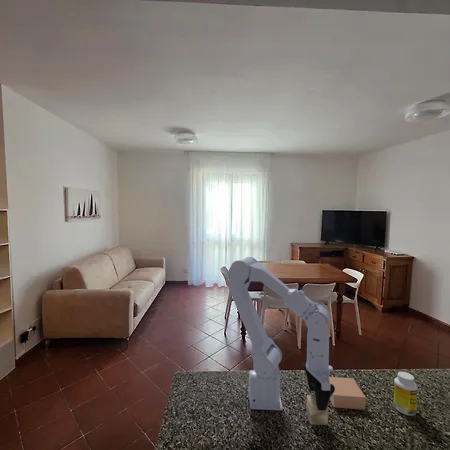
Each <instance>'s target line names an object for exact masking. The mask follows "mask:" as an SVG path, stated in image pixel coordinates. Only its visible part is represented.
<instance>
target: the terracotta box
mask: <svg viewBox="0 0 450 450" xmlns="http://www.w3.org/2000/svg"><path fill="white" fill-rule="evenodd" d="M329 381H330V384H333V386H334V387H335V392H334V393H333V394H332V395H331V397H330V399H329V401H330V402H331V405H332V407H333V408H337V409H339V408H340V409H351V410H352V409H353V410H363V411H364V410H366V401H367V400H366V399H367V398H366V396H365V394H364V393H363V391H362V390H361V388H360V387H359V385H358V384H357V381H355V379H354V378H353V377H352V378H351V377H339V376H338V377H337V376H329Z"/></svg>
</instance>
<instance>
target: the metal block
mask: <svg viewBox="0 0 450 450" xmlns="http://www.w3.org/2000/svg"><path fill="white" fill-rule="evenodd" d="M305 407H306V411H305V412H306V414H307V415H306V416H307V418H308V420H309V423H310V425H314V426H315V425H316V426H317V425H319V426H328V424H329V422H328V421H329V418H328V417H329V406H328V405H327V409H326V411H324V410H318V408H317V405H316V397H315V394H314V395H313V394H309V395H308V394H307V395H306V406H305Z"/></svg>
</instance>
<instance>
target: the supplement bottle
mask: <svg viewBox="0 0 450 450" xmlns="http://www.w3.org/2000/svg"><path fill="white" fill-rule="evenodd" d="M393 386H394V387H393V407H394V408H395V409H396V411H398V412H400V413H401V414H403V415H405V416H411V417H413V416H416V414H417V413H418V385H417V384H416V382H415V377H414V375H412V374H410V373H409V372H406V371H398V372H397V377H395V378H394V381H393Z"/></svg>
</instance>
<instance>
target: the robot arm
mask: <svg viewBox="0 0 450 450" xmlns="http://www.w3.org/2000/svg"><path fill="white" fill-rule="evenodd" d="M227 274H228V276H229V287H228V289H229V292H230V296H231V297H232V300H233V302H234V304H235V307H236V309H237V311H238V313H239V317H240V319H241V322H242V324H243V326H244V328H245V331H246V333H247V336H248V337H249V340H250V343H251V352H250V355H251V358H252V363H253V364H252V366H253V369H250V370H249V373H248V374H249V376H248V380H249V381H248V389H247V393H248V394H247V396H248V397H249V409H250V410H263V411H264V410H265V411H266V410H268V411H283V410H284V408H283V404H282V399H281V394H280V392H281V391H280V390H281V389H280V388H281V381H280V380H281V370H280V366H279V363H281V361H282V359H283V353H282V351H281V349H280V348H279V347H278V346H277V345H276V343H275V342H274V340H273V338H271V337H269V336H268V334H267V332H266V330H265V327H264V324H263V322H262V320H261V318H260V315H259V313H258V311H257V309H256V306H255V303H254V302H253V300H252V297H251V295H250V292H249V290H248V288H249V286H250V284H251V282H260V283H262V284H264V285H265V286H266V287H268V288H269V289H270V290H272V291H273V292H274V293H276V294H277V295H278V296H280V297H281V298H282V300H283V304H284V305H285V306H286V307H288V309H290V310H291V311H292V312H293V313H294V314H296V315H297V316H298V317H299V318H300V319H302V320H303V321H304V322H305V325H306V327H307V335H306V337H307V338H306V362H302V367H303V368H304V371H305V374H306V379H307V384H308V385H307V386H308V388H309V391H310V392H314V395H315V397H316V405H317V408H318V410H324V411H326V409H327V406H328V404H329V401H330V397H331V395H332V394H333V393H334V392H335V387H334V386H333V384H330V381H329V377H330V372H331V373H332V372H334V369H333V366H332V365H329V362H330V360H329V359H330V336H329V332H330V330H329V323H330V321H331V314H330V311H329V310H328V309H327V308H326V307H325V306H324V305H322V304H319V303H318V302H316V301H315V302H314V301H313V300H311V299H310V298H309V297H308V296H306V295H305V294H304V293H305V291H303V290H302V289H300V290H298V288H290V287H288V286H287V285H286V284H285V283H284V282H283V281H282V280H281V279H279V278H278V277H277V276H276V275H275V274H273V273H272V272H271V271H270V270H269V269H267V267H265V265H264V264H263V263H262V262H260V261H258V260H257V258H254V257H252V256H248V257H245V258H243V259H238V260H235V261H233V262H232V263H231V265H230V267H229V270H228V271H227Z"/></svg>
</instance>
